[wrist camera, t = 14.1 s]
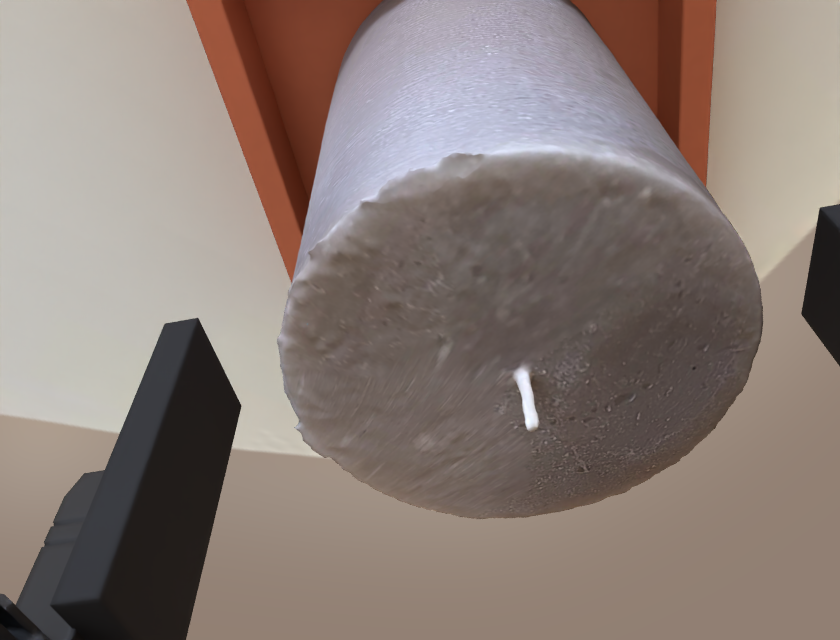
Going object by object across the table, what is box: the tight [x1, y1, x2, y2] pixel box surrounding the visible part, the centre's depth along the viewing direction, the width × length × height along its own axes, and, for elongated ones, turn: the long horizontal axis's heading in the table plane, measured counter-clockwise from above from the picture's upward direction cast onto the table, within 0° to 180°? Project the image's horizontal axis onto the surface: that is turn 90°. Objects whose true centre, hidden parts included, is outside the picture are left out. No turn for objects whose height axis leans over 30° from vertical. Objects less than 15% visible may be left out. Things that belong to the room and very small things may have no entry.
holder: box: [186, 0, 717, 283], centre depth 24 cm, size 15×15×4 cm
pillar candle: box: [277, 0, 763, 519], centre depth 19 cm, size 10×10×15 cm
